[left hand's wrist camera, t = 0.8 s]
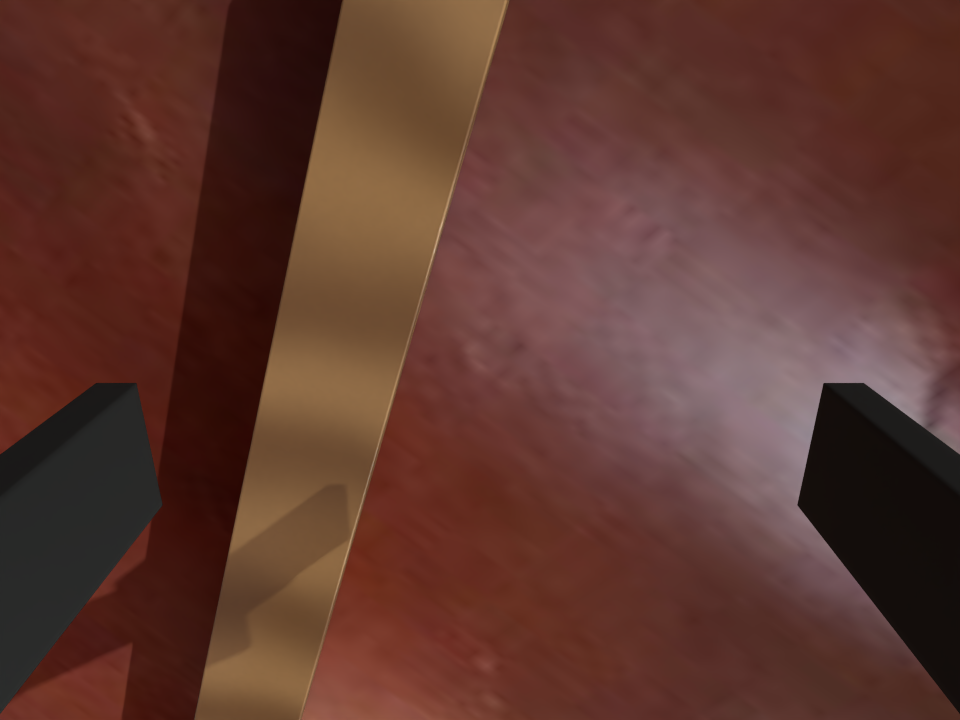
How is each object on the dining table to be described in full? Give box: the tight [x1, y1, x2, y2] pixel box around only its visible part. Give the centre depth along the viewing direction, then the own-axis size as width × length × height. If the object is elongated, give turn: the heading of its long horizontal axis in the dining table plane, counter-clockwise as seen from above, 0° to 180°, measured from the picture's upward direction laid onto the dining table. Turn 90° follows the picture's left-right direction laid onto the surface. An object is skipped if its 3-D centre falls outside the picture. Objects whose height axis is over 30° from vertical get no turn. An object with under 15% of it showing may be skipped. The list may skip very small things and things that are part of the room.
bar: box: [194, 0, 509, 720], centre depth 33 cm, size 66×5×8 cm, turn 163°
